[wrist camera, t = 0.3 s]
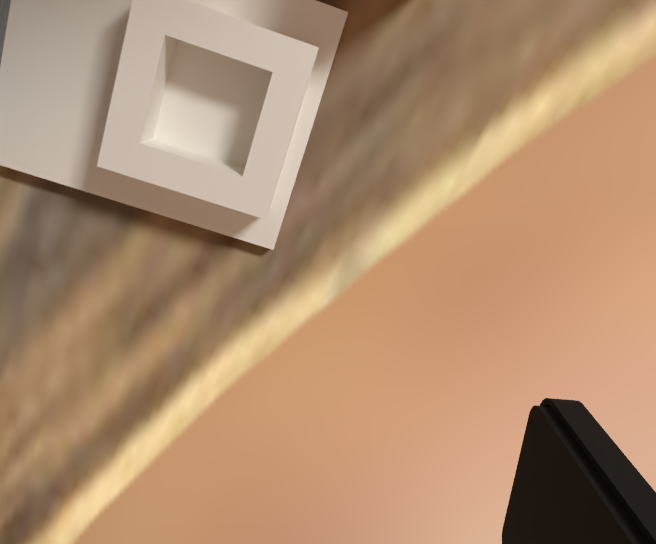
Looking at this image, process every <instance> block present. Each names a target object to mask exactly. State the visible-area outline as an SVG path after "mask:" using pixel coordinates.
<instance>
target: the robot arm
mask: <svg viewBox="0 0 656 544" xmlns="http://www.w3.org/2000/svg"><path fill="white" fill-rule="evenodd" d="M502 544H656V492H655V491H654V490H653V489H652V488H651V486H650V485H649V484H648V483H647V482H646V480H645V479H644V478H643V477H642V475H641V474H640V473H639V472H638V471H637V469H636V468H635V467H634V466H633V465H632V463H631V462H630V461H629V460H628V459H627V457H626V456H625V455H624V454H623V453H622V451H621V450H620V449H619V448H618V446H617V445H616V444H615V443H614V442H613V440H612V439H611V438H610V437H609V436H608V434H607V433H606V432H605V431H604V429H603V428H602V427H601V426H600V425H599V423H598V422H597V421H596V420H595V419H594V417H593V416H592V415H591V414H590V413H589V411H588V410H587V409H586V408H585V407H584V405H583V404H582V403H581V402H579V401H574V400H562V399H549V398H546V399H544V400H543V401H542V403H541V404H540V406H533V407H532V409H531V411H530V414H529V418H528V422H527V426H526V431H525V435H524V439H523V444H522V448H521V452H520V457H519V461H518V465H517V469H516V474H515V478H514V482H513V487H512V491H511V495H510V500H509V505H508V508H507V513H506V517H505V522H504V526H503V531H502Z"/></svg>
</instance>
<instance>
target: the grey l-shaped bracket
mask: <svg viewBox="0 0 656 544" xmlns="http://www.w3.org/2000/svg"><path fill="white" fill-rule="evenodd" d="M10 2H11V0H0V65H1V59H2V53H3V46H4V40H5V34H6V28H7V21H8V15H9V9H10Z"/></svg>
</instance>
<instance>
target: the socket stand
mask: <svg viewBox="0 0 656 544" xmlns="http://www.w3.org/2000/svg"><path fill="white" fill-rule="evenodd" d="M347 15H348V12H347V11H344V10H341V9H338V8H336V7H333V6H330V5H327V4H325V3H322V2H319V1H316V0H11V2H10V9H9V15H8V21H7V28H6V34H5V40H4V46H3V53H2V59H1V65H0V165H1V166H5V167H8V168H11V169H14V170H17V171H21V172H24V173H27V174H30V175H34V176H37V177H40V178H43V179H46V180H50V181H53V182H56V183H59V184H62V185H66V186H69V187H72V188H75V189H79V190H82V191H85V192H88V193H91V194H95V195H98V196H101V197H104V198H108V199H111V200H114V201H117V202H120V203H124V204H127V205H130V206H133V207H137V208H140V209H143V210H146V211H149V212H153V213H156V214H159V215H162V216H165V217H169V218H172V219H175V220H178V221H182V222H185V223H188V224H191V225H194V226H198V227H201V228H204V229H207V230H211V231H214V232H217V233H220V234H223V235H227V236H230V237H233V238H236V239H240V240H243V241H246V242H249V243H252V244H256V245H259V246H262V247H265V248H268V249H272V250H273V249H274V246H275V243H276V240H277V237H278V233H279V230H280V227H281V224H282V221H283V218H284V214H285V211H286V208H287V205H288V202H289V199H290V195H291V192H292V189H293V186H294V183H295V180H296V176H297V173H298V170H299V167H300V164H301V161H302V157H303V154H304V151H305V148H306V145H307V142H308V138H309V135H310V132H311V129H312V126H313V123H314V120H315V116H316V113H317V110H318V107H319V104H320V101H321V97H322V94H323V91H324V88H325V85H326V82H327V78H328V75H329V72H330V69H331V66H332V63H333V59H334V56H335V53H336V50H337V47H338V44H339V40H340V37H341V34H342V31H343V28H344V25H345V21H346V18H347Z"/></svg>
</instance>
